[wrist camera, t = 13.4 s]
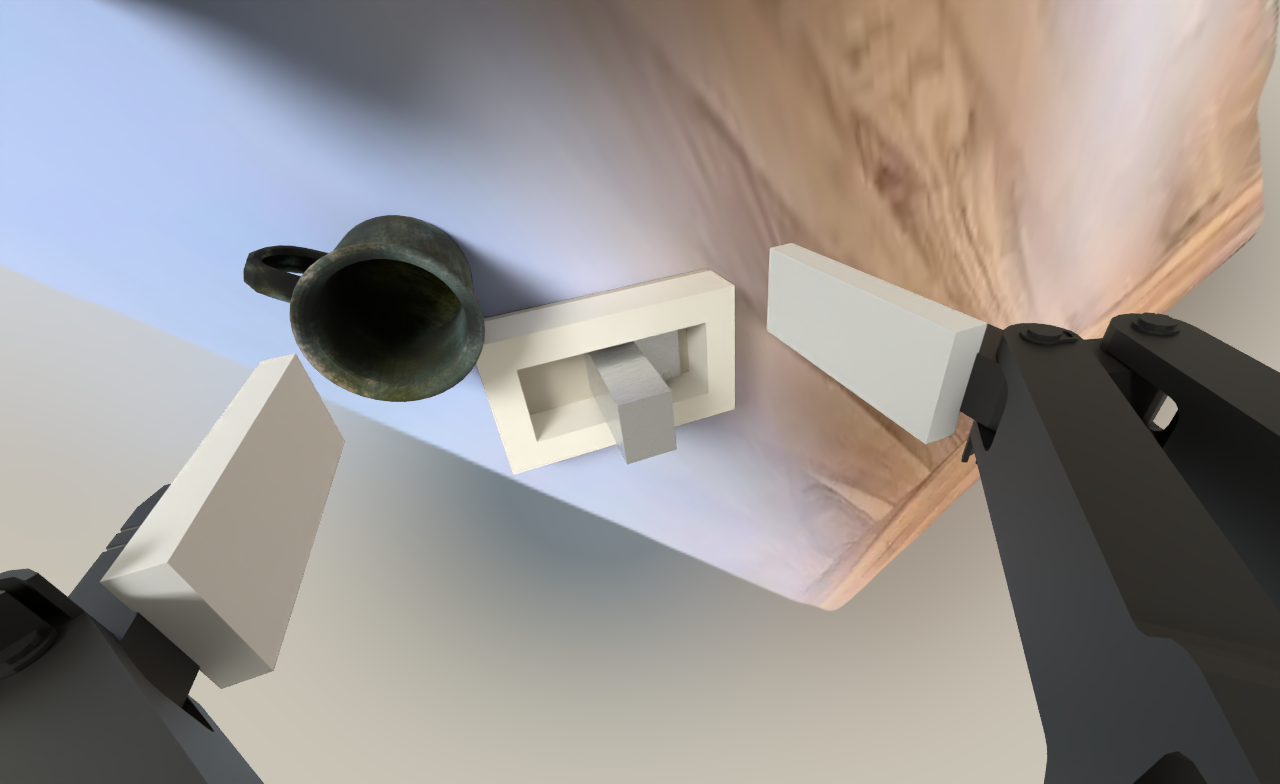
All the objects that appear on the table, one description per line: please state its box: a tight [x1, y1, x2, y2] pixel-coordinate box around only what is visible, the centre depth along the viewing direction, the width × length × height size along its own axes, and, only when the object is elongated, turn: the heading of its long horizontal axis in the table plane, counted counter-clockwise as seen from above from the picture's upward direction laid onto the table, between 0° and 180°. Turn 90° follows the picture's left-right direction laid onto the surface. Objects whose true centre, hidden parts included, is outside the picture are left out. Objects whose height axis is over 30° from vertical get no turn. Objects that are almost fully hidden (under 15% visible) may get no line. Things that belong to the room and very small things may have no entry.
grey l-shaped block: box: [583, 330, 681, 464], centre depth 45 cm, size 6×10×13 cm, turn 97°
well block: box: [476, 268, 735, 475], centre depth 48 cm, size 14×24×6 cm, turn 97°
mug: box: [244, 215, 485, 402], centre depth 35 cm, size 11×15×12 cm
